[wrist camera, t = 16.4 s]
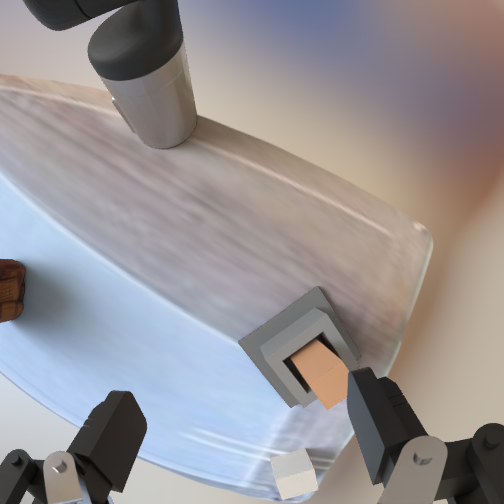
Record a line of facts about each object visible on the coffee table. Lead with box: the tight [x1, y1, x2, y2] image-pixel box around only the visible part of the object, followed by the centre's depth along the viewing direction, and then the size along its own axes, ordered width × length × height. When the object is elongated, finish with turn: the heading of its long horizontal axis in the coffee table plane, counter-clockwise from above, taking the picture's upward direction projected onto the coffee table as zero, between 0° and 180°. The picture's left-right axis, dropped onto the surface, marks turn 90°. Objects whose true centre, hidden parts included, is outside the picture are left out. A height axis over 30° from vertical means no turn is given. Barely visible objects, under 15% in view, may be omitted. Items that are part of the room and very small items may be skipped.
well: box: [238, 286, 362, 408], centre depth 35 cm, size 13×13×6 cm
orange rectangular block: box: [289, 338, 349, 410], centre depth 31 cm, size 4×4×12 cm
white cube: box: [270, 448, 318, 500], centre depth 34 cm, size 6×6×6 cm
